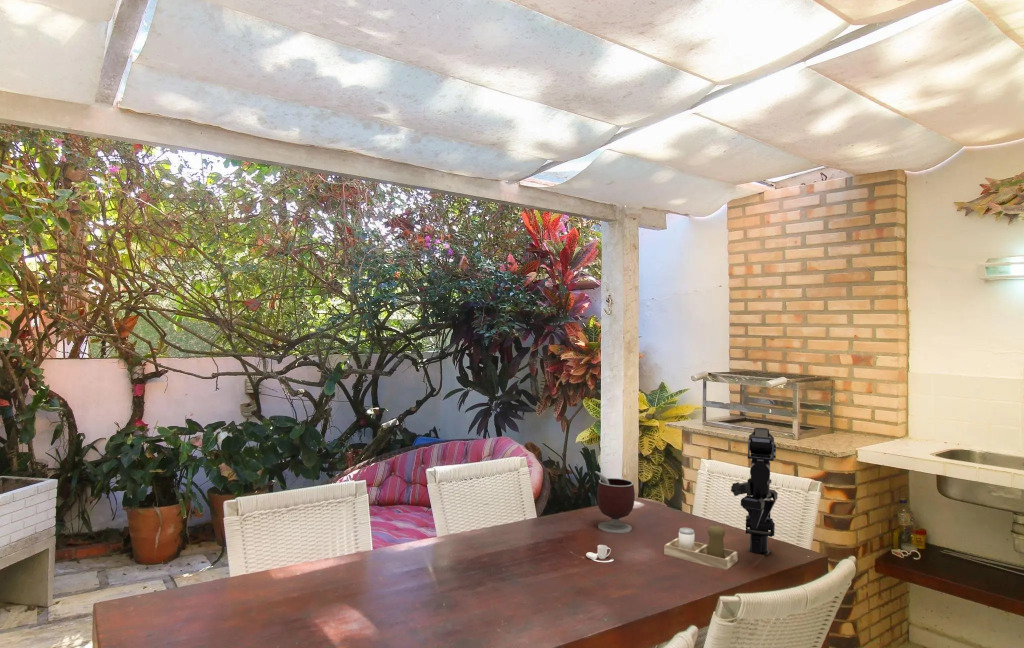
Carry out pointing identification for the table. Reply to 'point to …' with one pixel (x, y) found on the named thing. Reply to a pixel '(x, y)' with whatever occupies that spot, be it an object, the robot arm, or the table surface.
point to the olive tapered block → (716, 541)
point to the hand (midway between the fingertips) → (758, 525)
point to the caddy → (701, 555)
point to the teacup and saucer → (600, 554)
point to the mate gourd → (615, 502)
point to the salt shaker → (686, 539)
